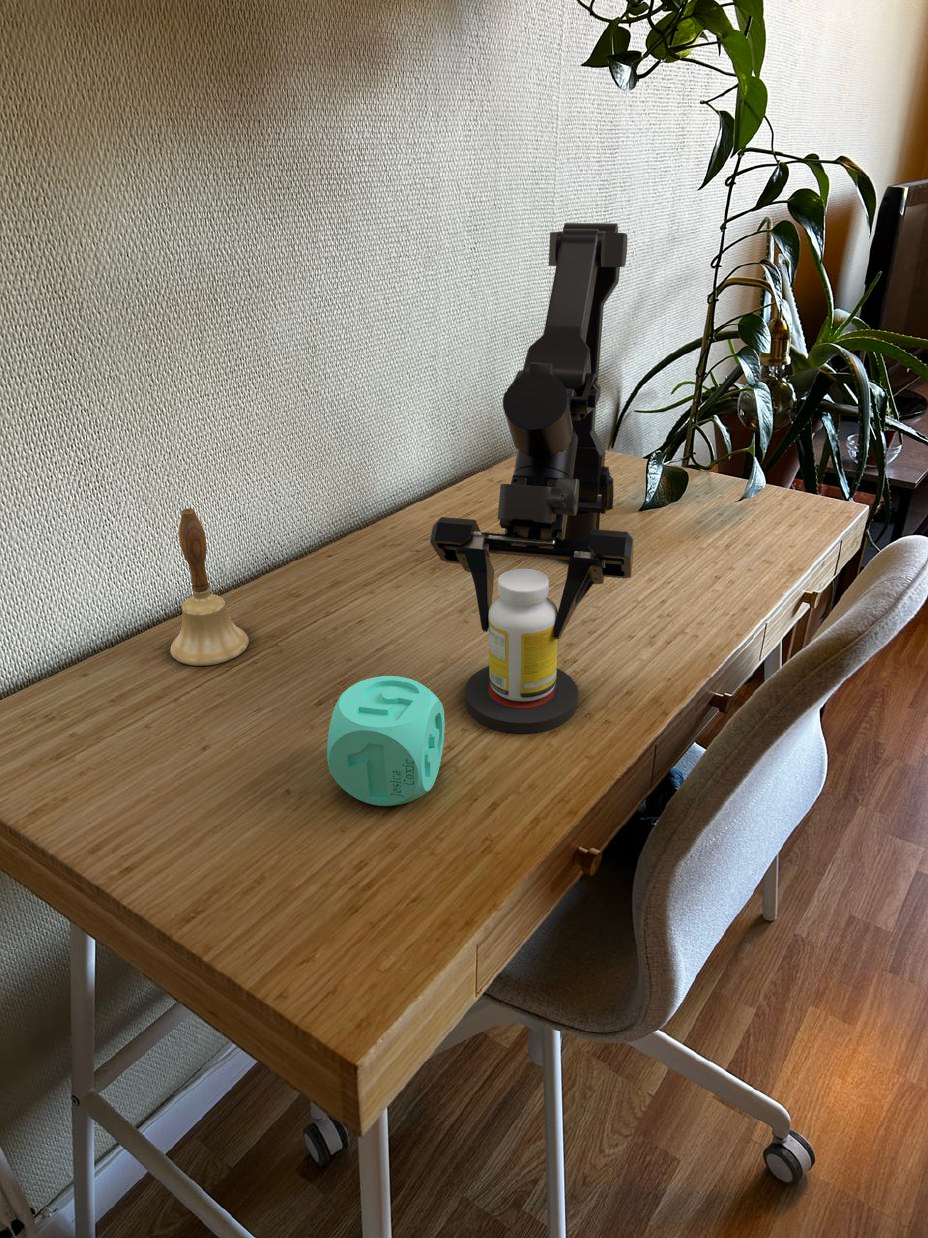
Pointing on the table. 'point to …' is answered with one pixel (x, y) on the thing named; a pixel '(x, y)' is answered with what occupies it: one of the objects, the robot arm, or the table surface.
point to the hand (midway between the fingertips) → (519, 634)
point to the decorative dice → (386, 740)
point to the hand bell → (203, 608)
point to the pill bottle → (522, 637)
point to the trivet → (520, 705)
